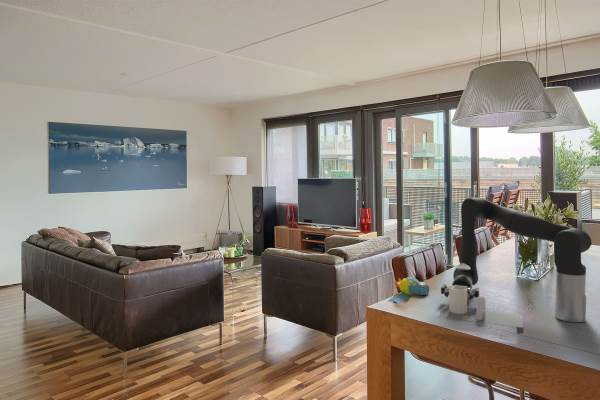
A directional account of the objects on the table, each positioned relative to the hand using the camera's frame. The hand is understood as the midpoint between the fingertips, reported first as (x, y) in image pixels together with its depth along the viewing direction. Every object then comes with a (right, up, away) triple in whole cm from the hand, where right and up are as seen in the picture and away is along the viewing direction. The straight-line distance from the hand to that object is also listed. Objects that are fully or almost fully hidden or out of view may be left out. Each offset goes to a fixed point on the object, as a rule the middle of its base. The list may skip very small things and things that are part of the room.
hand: (458, 295), depth 168 cm
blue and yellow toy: (-12, -6, +25) cm, 28 cm away
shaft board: (+6, -7, -7) cm, 11 cm away
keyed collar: (0, -6, -1) cm, 6 cm away
